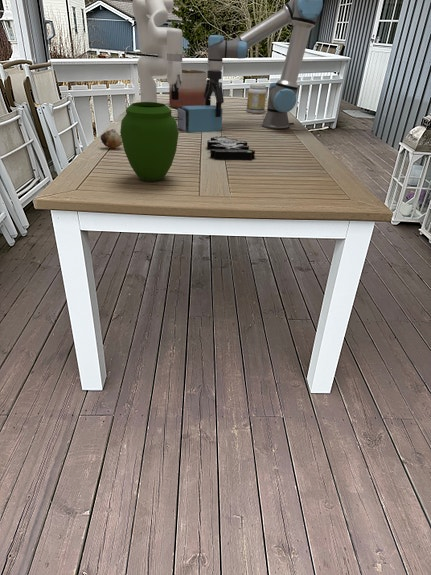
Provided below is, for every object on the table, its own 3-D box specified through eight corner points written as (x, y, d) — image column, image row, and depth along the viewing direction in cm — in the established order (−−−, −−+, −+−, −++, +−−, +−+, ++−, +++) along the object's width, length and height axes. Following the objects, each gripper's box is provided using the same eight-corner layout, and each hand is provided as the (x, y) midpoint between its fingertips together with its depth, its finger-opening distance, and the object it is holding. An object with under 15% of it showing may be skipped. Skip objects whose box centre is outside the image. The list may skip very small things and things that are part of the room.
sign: (211, 151, 170) (204, 135, 195) (211, 159, 172) (203, 142, 197) (256, 152, 172) (243, 136, 198) (255, 159, 174) (242, 143, 199)
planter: (200, 104, 298) (200, 69, 286) (210, 110, 277) (212, 73, 266) (165, 104, 290) (165, 69, 278) (174, 110, 270) (173, 72, 258)
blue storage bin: (189, 132, 215) (189, 109, 209) (181, 128, 223) (181, 106, 217) (221, 130, 222) (222, 108, 216) (213, 126, 230) (214, 105, 224)
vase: (131, 189, 135) (125, 110, 122) (118, 172, 150) (112, 100, 137) (186, 184, 142) (187, 109, 129) (169, 168, 157) (167, 99, 144)
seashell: (124, 147, 182) (123, 128, 178) (122, 150, 177) (120, 130, 173) (103, 146, 182) (101, 127, 178) (100, 149, 177) (98, 129, 173)
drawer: (173, 130, 212) (172, 111, 207) (167, 127, 219) (166, 108, 214) (214, 128, 221) (215, 110, 216) (207, 125, 228) (207, 107, 223)
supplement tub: (247, 109, 285) (249, 83, 276) (264, 111, 283) (267, 84, 274) (245, 112, 274) (248, 84, 265) (264, 114, 273) (266, 86, 264)
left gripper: (162, 57, 203) (163, 97, 213) (172, 59, 192) (173, 101, 202) (176, 57, 206) (176, 97, 216) (187, 59, 195) (187, 101, 204)
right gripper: (198, 67, 218) (197, 110, 229) (218, 72, 199) (216, 119, 210) (211, 68, 221) (209, 110, 232) (232, 72, 202) (229, 118, 213)
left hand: (174, 99), depth 209 cm, fingers closed
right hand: (212, 114), depth 221 cm, fingers open, 13 cm apart
